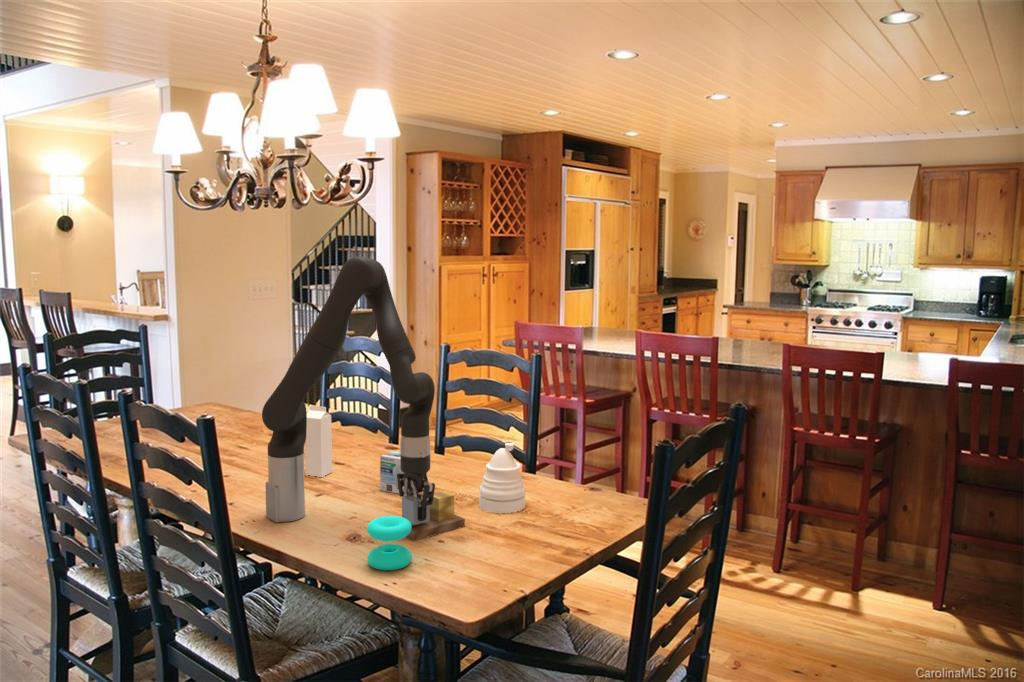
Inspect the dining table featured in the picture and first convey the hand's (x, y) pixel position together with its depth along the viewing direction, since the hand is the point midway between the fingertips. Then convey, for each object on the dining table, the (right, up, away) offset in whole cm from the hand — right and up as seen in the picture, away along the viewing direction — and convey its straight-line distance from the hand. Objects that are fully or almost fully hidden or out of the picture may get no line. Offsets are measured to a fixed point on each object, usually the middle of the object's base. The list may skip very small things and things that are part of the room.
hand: (415, 517), depth 199 cm
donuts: (-3, -6, -20) cm, 21 cm away
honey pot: (+22, -2, +21) cm, 30 cm away
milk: (-37, +2, +49) cm, 61 cm away
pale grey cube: (0, -1, 0) cm, 1 cm away
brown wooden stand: (+3, -3, +3) cm, 5 cm away
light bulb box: (-9, 0, +34) cm, 35 cm away
